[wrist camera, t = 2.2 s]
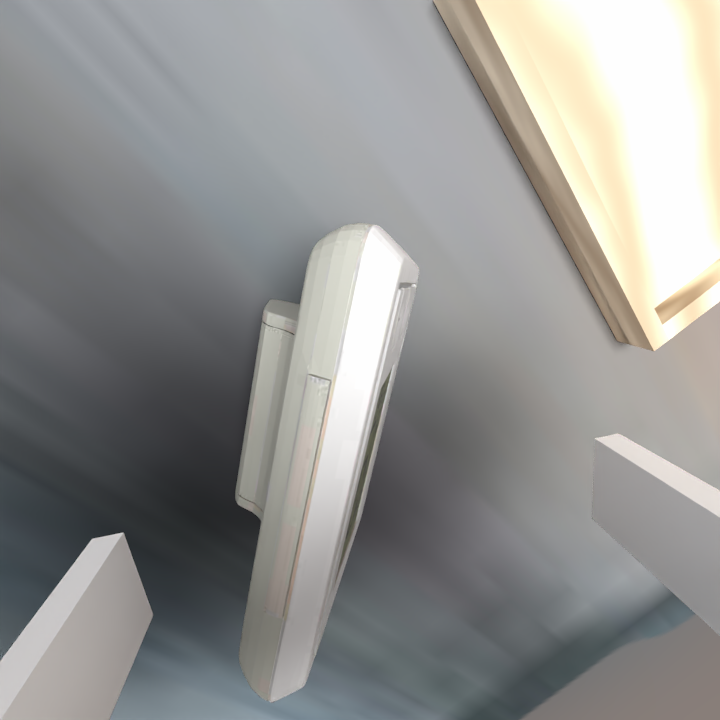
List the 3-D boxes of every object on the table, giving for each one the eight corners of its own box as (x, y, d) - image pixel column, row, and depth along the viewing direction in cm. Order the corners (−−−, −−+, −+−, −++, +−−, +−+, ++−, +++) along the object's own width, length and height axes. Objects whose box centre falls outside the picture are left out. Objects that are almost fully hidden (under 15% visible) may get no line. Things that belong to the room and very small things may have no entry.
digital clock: (344, 530, 24) (379, 735, 14) (196, 490, 22) (107, 698, 12) (462, 282, 21) (617, 309, 11) (304, 207, 19) (312, 153, 9)
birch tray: (617, 341, 23) (654, 351, 21) (433, 1, 17) (454, -40, 15) (871, 145, 22) (940, 132, 20) (770, -283, 16) (850, -374, 14)
